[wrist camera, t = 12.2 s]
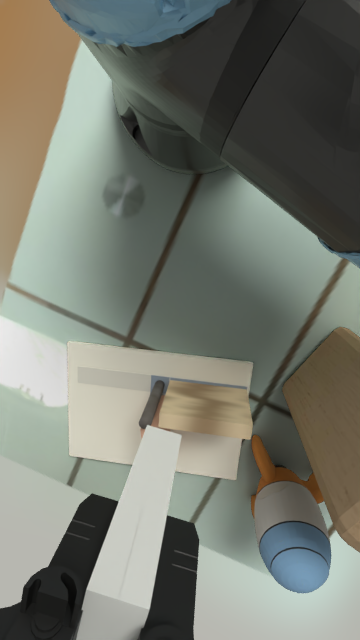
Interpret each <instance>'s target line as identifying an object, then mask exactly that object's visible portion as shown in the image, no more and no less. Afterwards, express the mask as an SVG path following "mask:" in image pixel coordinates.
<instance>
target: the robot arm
mask: <svg viewBox="0 0 360 640" xmlns="http://www.w3.org/2000/svg"><path fill="white" fill-rule="evenodd" d="M49 1H50V3H51V4H52V6H53V8H54V9H55V10H56V11H57V12H59V14H60V16H61V18H62V19H63V20H64V22H65V23H66V24H67V25H69V26H70V27H71V28H72V29H73V30H74V31H75V32H77V33H78V35H79V36H80V38H81V39H82V40H83V42H84V43H85V44H86V46H87V47H88V48H89V50H90V51H91V52H92V54H93V55H94V56H95V58H96V59H97V61H98V62H99V63H100V65H101V66H102V67H103V69H104V70H105V71H106V73H107V74H108V75H109V77H110V78H111V79H112V87H113V95H114V100H115V104H116V108H117V111H118V114H119V117H120V119H121V121H122V124H123V126H124V128H125V130H126V131H127V133H128V135H129V136H130V137H131V139H132V140H133V142H134V143H135V144H136V145H137V146H138V147H139V148H140V149H141V150H142V151H143V152H144V153H145V154H146V155H147V156H148V157H149V158H150V159H151V160H153V161H154V162H156V163H157V164H159V165H161V166H162V167H164V168H167V169H169V170H172V171H175V172H178V173H184V174H204V173H209V172H213V171H217V170H219V169H222V168H224V167H226V166H229V167H230V168H232V169H233V170H234V171H236V172H237V173H238V174H239V175H241V176H242V177H243V178H244V179H246V180H247V181H248V182H249V183H251V184H252V185H253V186H254V187H256V188H257V189H258V190H259V191H261V192H262V193H263V194H264V195H266V196H267V197H268V198H270V199H271V200H272V201H273V202H275V203H276V204H277V205H278V206H280V207H281V208H282V209H283V210H285V211H286V212H287V213H288V214H290V215H291V216H292V217H293V218H295V219H296V220H297V221H299V222H300V223H301V224H302V225H304V226H305V227H306V228H307V229H309V230H310V231H311V232H312V233H314V234H315V235H316V236H317V237H318V239H319V241H320V243H321V244H322V245H323V246H324V247H325V248H326V249H327V250H328V251H330V252H331V253H335V254H336V255H338V256H339V257H342V258H346V259H347V260H349V261H350V262H352V263H353V264H354V265H356V266H357V267H359V268H360V0H49ZM181 436H182V435H180V434H176V433H173V432H169V431H166V430H163V429H159V428H156V427H153V426H149V425H147V427H146V429H145V432H144V435H143V438H142V440H141V443H140V446H139V448H138V451H137V454H136V456H135V459H134V462H133V465H132V467H131V470H130V473H129V475H128V478H127V481H126V484H125V486H124V489H123V492H122V494H121V497H120V500H119V502H118V501H115V500H112V499H108V498H105V497H102V496H99V495H95V494H91V495H90V496H89V497H87V498H86V499H85V500H84V501H83V502H82V503H81V504H80V505H79V507H78V509H77V511H76V513H75V515H74V517H73V519H72V521H71V523H70V525H69V527H68V529H67V531H66V533H65V535H64V537H63V538H62V541H61V542H60V544H59V546H58V549H57V550H56V552H55V554H54V556H53V558H52V560H51V562H50V564H49V566H48V567H47V568H43V569H41V570H40V571H38V572H37V573H36V574H34V575H33V576H32V577H31V578H30V579H29V581H28V582H27V583H26V585H25V586H24V588H23V594H22V600H21V602H20V603H18V604H15V605H13V606H11V607H6V608H1V609H0V640H194V635H193V625H194V609H195V595H196V579H197V564H198V560H197V559H198V548H199V538H198V535H197V531H196V528H195V525H194V524H193V523H190V522H187V521H184V520H180V519H177V518H174V517H171V516H167V512H168V507H169V501H170V496H171V491H172V485H173V480H174V474H175V469H176V463H177V458H178V453H179V447H180V442H181Z"/></svg>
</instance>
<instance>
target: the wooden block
mask: <svg viewBox="0 0 360 640" xmlns="http://www.w3.org/2000/svg"><path fill="white" fill-rule="evenodd" d="M282 392H283V394H284V397H285V399H286V402H287V405H288V407H289V410H290V412H291V415H292V418H293V420H294V423H295V425H296V428H297V431H298V433H299V436H300V439H301V441H302V444H303V446H304V449H305V452H306V454H307V457H308V459H309V462H310V465H311V467H312V470H313V472H314V475H315V478H316V480H317V483H318V486H319V488H320V491H321V493H322V496H323V499H324V501H325V504H326V506H327V509H328V512H329V514H330V517H331V519H332V522H333V525H334V527H335V529H336V531H337V532H338V534H339V535H340V537H341V538H342V539H343V540H344V541H345V542H346V543H347V544H348V545H350V546H352V547H353V548H354V549H356V550H357V551H358V552H360V337H359V336H357V335H356V334H355V333H353V332H352V331H351V330H349V329H347V328H343V327H339V328H337V329H335V330H334V331H333V332H332V333H331V334H330V335H329V336H328V337H327V338H326V339H325V341H324V342H323V343H322V344H321V345H320V346H319V347H318V348H317V349H316V350H315V351H314V352H313V353H312V354H311V356H310V357H309V358H308V359H307V360H306V361H305V362H304V363H303V364H302V365H301V366H300V367H299V368H298V369H297V371H296V372H295V373H294V374H293V375H292V376H291V377H290V378H289V379H288V380H287V381H286V382H285V384H284V386H283V388H282Z"/></svg>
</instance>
